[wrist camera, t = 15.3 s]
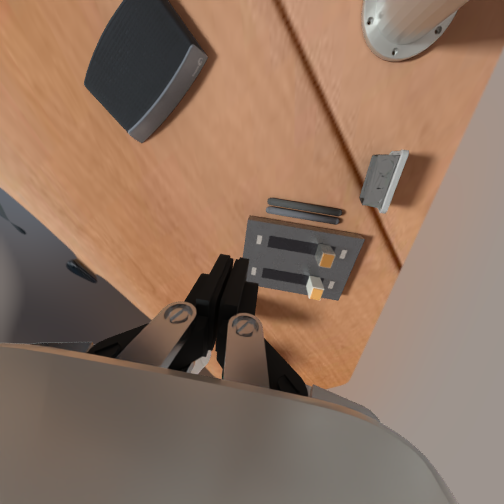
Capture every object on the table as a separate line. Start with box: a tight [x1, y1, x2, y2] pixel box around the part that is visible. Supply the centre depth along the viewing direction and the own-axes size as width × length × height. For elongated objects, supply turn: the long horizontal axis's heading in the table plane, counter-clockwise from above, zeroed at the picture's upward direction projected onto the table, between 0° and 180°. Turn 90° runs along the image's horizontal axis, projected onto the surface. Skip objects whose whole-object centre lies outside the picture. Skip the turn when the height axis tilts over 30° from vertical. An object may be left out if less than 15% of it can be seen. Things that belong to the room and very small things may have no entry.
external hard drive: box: [84, 0, 208, 143], centre depth 33 cm, size 13×19×4 cm
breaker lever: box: [306, 276, 324, 300], centre depth 44 cm, size 3×2×5 cm
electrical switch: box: [360, 150, 409, 213], centre depth 34 cm, size 9×5×9 cm, turn 176°
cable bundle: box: [266, 198, 342, 224], centre depth 42 cm, size 3×15×1 cm, turn 82°
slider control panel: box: [243, 216, 365, 300], centre depth 44 cm, size 16×24×8 cm, turn 82°
